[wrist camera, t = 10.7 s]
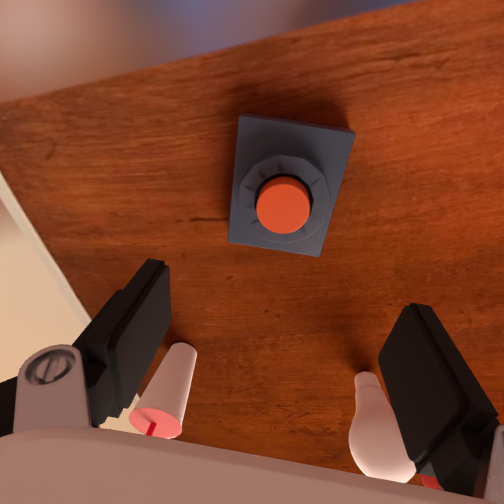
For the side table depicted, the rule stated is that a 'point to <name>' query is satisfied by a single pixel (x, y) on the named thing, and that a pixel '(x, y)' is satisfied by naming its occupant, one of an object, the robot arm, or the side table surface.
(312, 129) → the button block
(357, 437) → the lightbulb
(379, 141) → the side table surface
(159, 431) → the cup
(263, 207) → the button
